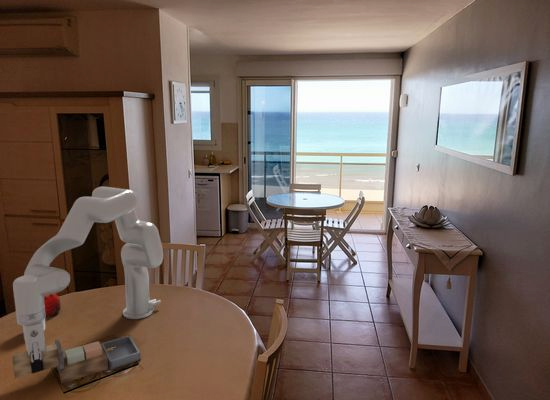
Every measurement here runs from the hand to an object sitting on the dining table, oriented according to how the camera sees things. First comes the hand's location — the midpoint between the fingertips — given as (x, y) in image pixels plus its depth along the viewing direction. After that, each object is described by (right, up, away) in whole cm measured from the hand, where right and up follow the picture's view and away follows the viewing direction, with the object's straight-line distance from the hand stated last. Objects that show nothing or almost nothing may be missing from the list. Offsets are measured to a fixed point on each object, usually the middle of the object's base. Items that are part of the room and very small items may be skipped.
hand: (37, 367), depth 126 cm
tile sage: (+9, 0, +6) cm, 11 cm away
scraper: (0, 0, 0) cm, 0 cm away
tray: (+21, -2, +15) cm, 26 cm away
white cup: (-18, +2, +29) cm, 34 cm away
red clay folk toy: (-19, +5, +43) cm, 47 cm away
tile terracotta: (+13, +1, +9) cm, 16 cm away
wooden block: (+10, -3, +8) cm, 14 cm away
